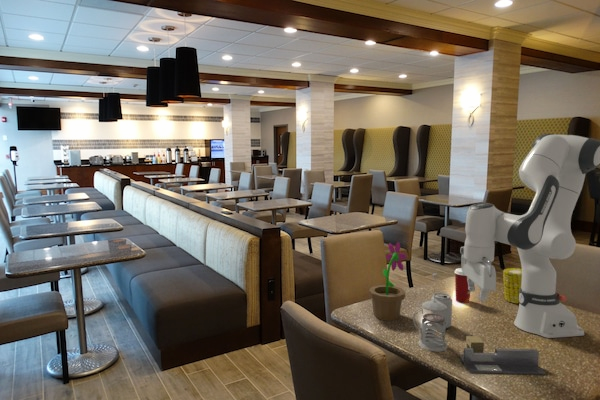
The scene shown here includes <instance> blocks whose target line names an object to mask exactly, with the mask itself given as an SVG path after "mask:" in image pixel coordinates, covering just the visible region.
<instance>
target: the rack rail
mask: <svg viewBox="0 0 600 400" xmlns="http://www.w3.org/2000/svg"><path fill="white" fill-rule="evenodd" d="M473 352H474V350H473V348H466V347H463V354H458V357H459V359H460V360H461V363H463V365H464V367H465V368H466V370H467V371H468V372H469V373H471V374H473V373H474V374H505V375H506V374H509V375H542V374H546V371H545V370H543V368H541V366H540V365H539V355H540V354H539V353H540V351H539V350H538V349H534V348H533V349H529V348H528V349H526V348H524V349H523V348H495V349H494V352H483V353H473Z"/></svg>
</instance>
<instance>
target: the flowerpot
mask: <svg viewBox="0 0 600 400" xmlns="http://www.w3.org/2000/svg"><path fill="white" fill-rule="evenodd" d="M388 250H389V252H390V253H388V254H386V255H385V259H387V261H389V260H390V261H389V263H388V266H387V268H383V269H382V274H383V277H384V278H386V279H385V280H386V281H385V284H383V285H382V284H381V285H374V286H371V287H370V288H369V290H368V295H369V297H370V298H371V301H372V302H371V303H372V312H373V316H374V317H375V318H377V319H378V320H382V321H395V320H397V319H399V318H400V315H401V307H402V302H403V301H404V300H405V299H406V290H404V289H403V288H402V287H398V286H395V284H393V283H392V282H391V281H390V277H389V276H390V270H391V271H393V272H394V271H395V270H396V269H397V267H398V269H399V270H400V271H402V272H403V271H404V264H403V263H402V261H401V260H405V259H406V258H407V254H405V253H404V252H401V253H399V252H400V250H401V244H400V242H399V241H398V242H397V243H396V244H395V246H393V244H392V243H391V242H389V243H388Z"/></svg>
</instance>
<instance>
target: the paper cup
mask: <svg viewBox="0 0 600 400" xmlns="http://www.w3.org/2000/svg"><path fill="white" fill-rule="evenodd" d="M454 274H455V276H454V279H455V280H454V283H455V302H457V303H461V304H468V303H470V300H471V291H469V290H468V281H467V276H466V275H464V274H463V272H462V267H458V268H455V270H454Z"/></svg>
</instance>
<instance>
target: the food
mask: <svg viewBox="0 0 600 400" xmlns="http://www.w3.org/2000/svg"><path fill="white" fill-rule="evenodd" d="M502 271H503V274H502V277H503V279H502V280H503V282H502V283H503V290H504V291H503V292H504V299H505V300H506V301H507V303H511V304H518V305H519V304H520V303H519V293H520V288H521V282H522V268H519V267H518V268H517V267H516V268H515V267H513V268H512V267H510V268H509V267H508V268H505V269H504V270H502Z"/></svg>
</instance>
